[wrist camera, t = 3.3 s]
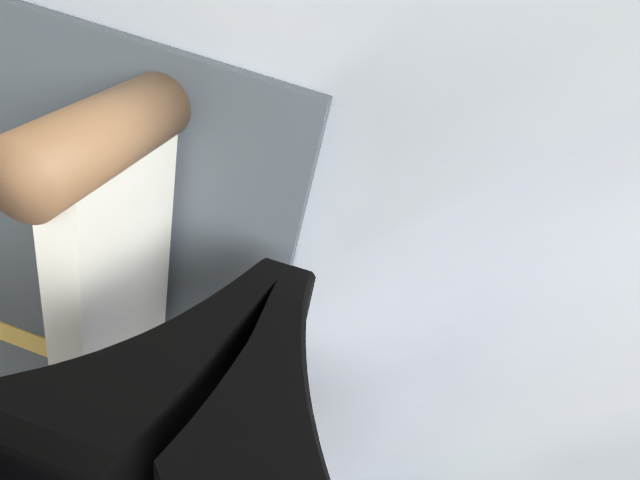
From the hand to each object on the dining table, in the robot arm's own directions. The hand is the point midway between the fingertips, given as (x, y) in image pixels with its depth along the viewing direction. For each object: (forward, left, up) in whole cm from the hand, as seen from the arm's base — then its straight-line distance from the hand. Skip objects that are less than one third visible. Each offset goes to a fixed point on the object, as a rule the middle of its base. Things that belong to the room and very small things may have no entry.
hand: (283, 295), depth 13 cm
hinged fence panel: (+4, +1, -1) cm, 5 cm away
